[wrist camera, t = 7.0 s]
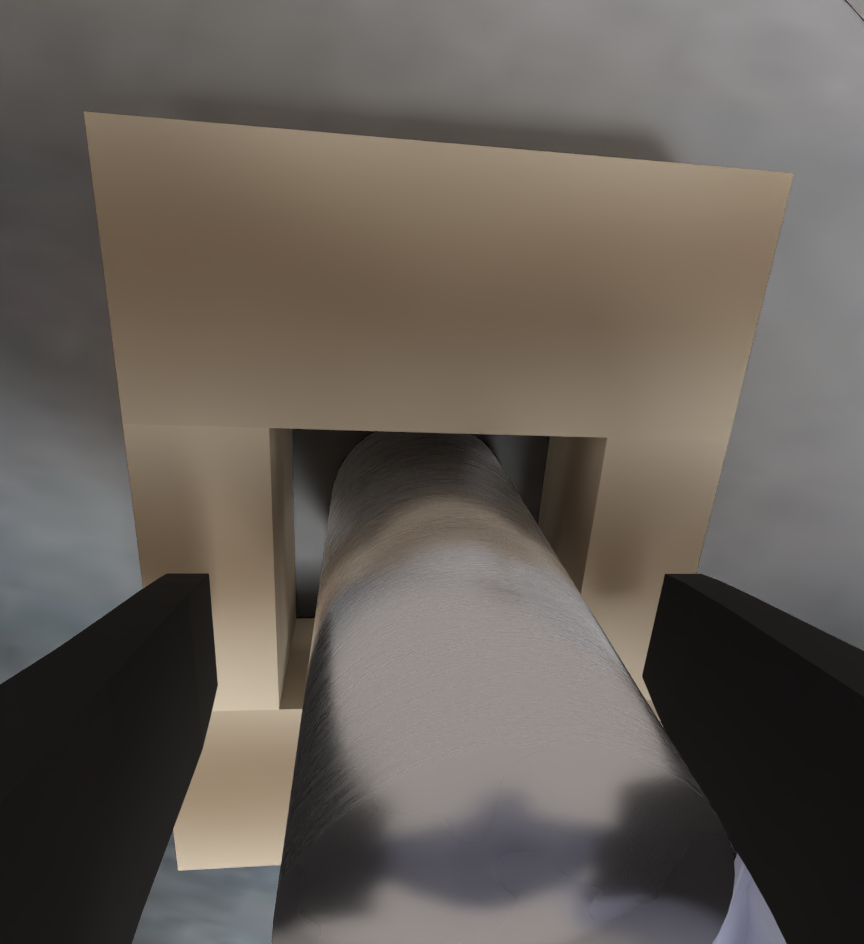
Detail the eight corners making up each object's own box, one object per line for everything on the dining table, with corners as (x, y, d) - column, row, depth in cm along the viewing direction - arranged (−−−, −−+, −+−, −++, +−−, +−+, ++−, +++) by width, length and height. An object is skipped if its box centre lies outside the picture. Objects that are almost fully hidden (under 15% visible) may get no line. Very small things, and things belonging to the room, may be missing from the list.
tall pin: (496, 582, 14) (677, 1048, 6) (329, 579, 14) (274, 1084, 6) (518, 423, 13) (791, 741, 5) (333, 414, 13) (267, 752, 4)
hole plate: (585, 744, 17) (629, 845, 14) (212, 757, 15) (178, 870, 13) (692, 190, 12) (794, 173, 9) (158, 147, 10) (83, 110, 8)
